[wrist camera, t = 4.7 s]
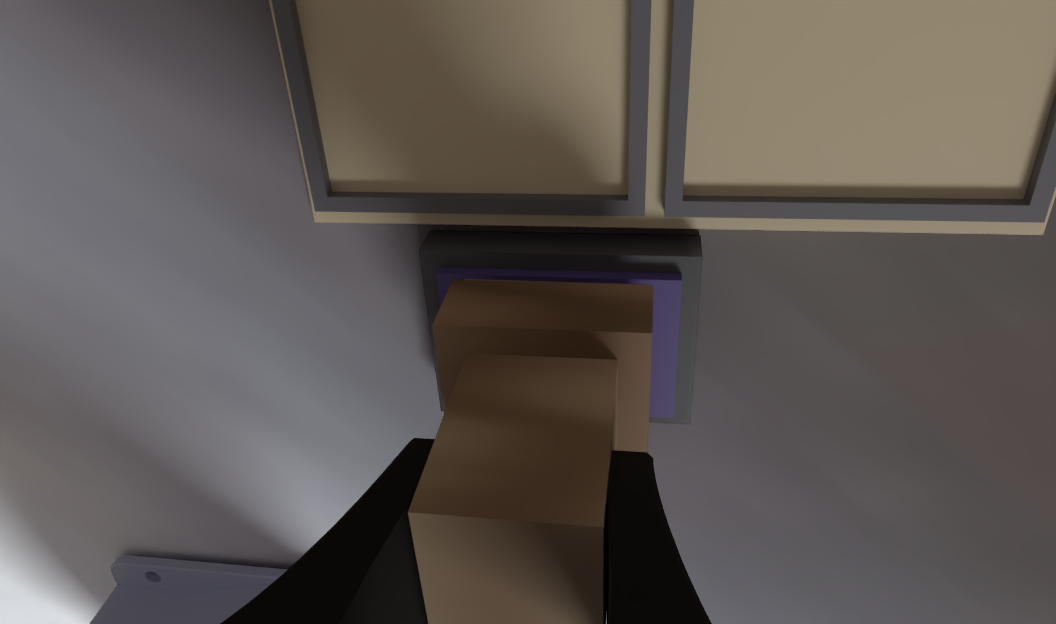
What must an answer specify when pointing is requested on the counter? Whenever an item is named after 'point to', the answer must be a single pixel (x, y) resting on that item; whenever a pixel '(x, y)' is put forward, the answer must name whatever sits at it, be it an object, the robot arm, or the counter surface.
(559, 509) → the stamp
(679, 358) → the ink pad
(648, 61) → the beige divided tray
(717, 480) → the counter surface
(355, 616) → the robot arm
